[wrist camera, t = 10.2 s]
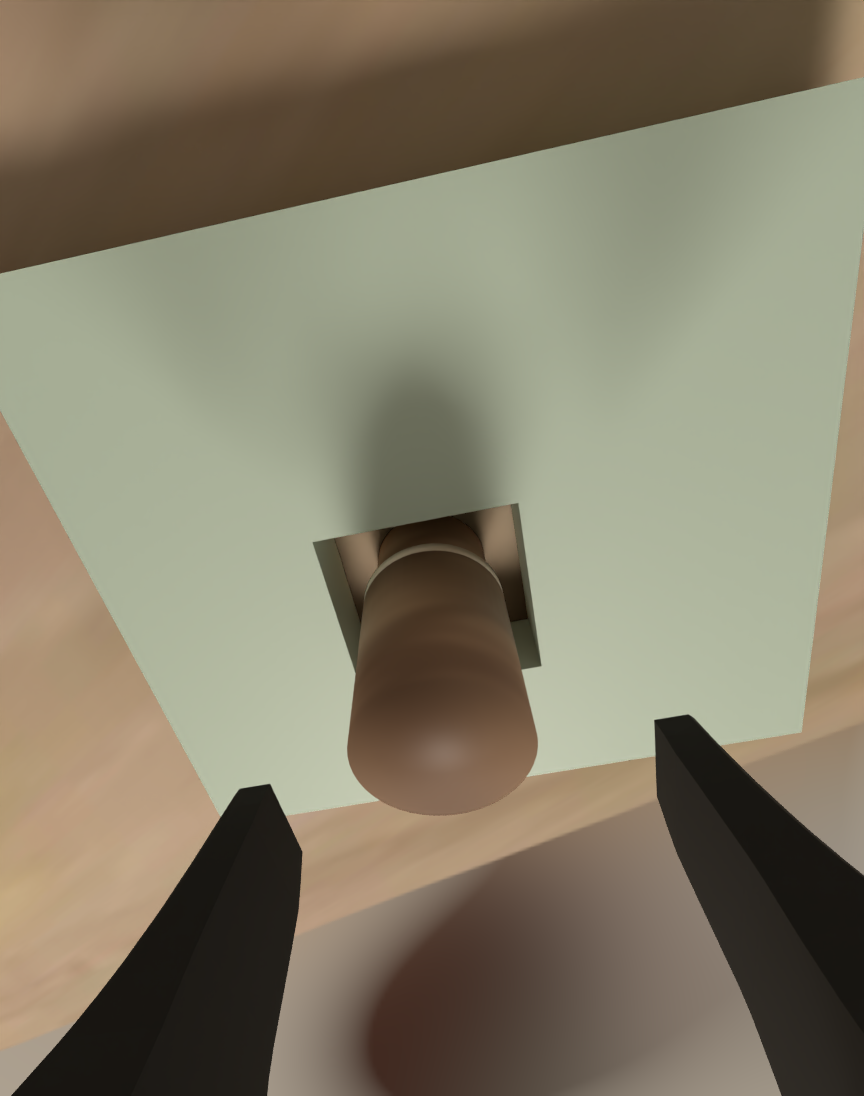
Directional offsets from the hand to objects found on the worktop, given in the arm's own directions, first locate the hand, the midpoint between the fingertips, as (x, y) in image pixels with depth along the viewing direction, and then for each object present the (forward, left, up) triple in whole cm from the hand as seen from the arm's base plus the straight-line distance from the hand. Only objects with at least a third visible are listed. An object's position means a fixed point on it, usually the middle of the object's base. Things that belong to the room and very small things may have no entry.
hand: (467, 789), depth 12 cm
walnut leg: (+1, 0, -9) cm, 9 cm away
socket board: (0, -1, -9) cm, 9 cm away
